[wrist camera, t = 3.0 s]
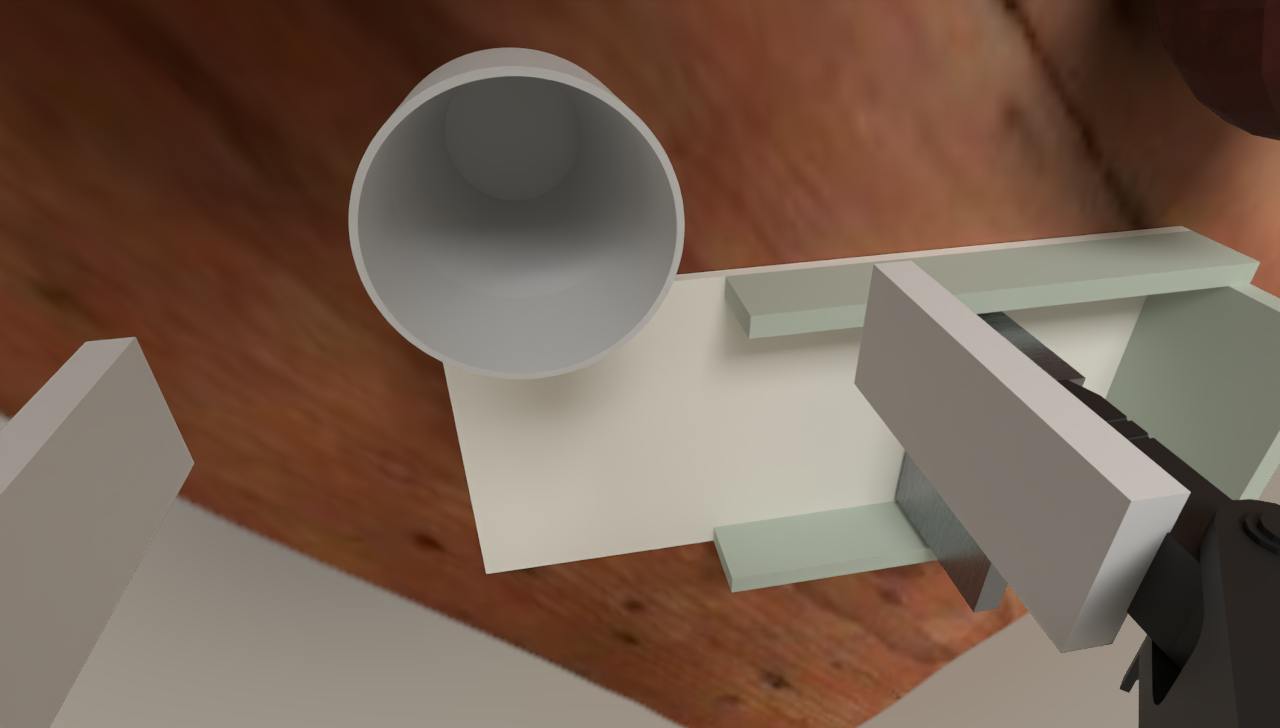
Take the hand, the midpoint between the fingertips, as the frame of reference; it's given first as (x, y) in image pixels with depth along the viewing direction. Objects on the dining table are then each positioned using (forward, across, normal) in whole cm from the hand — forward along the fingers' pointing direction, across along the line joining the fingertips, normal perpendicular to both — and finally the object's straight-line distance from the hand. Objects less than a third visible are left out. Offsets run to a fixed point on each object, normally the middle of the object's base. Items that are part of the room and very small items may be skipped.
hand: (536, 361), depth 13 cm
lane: (+15, +13, -14) cm, 24 cm away
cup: (+15, 0, 0) cm, 15 cm away
